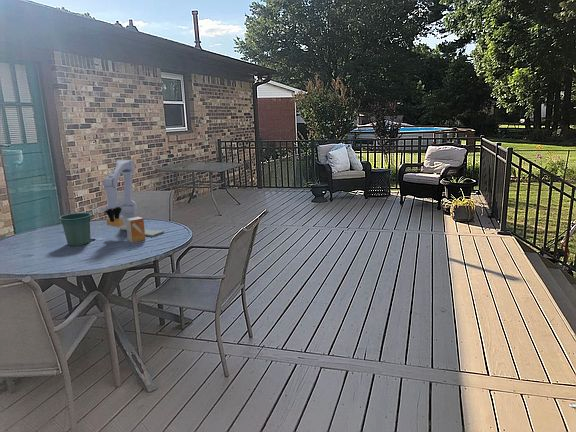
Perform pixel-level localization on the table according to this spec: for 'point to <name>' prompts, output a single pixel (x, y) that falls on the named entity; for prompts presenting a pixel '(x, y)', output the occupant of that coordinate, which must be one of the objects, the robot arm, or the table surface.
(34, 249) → the table surface
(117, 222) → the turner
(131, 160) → the robot arm
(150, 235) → the tool board
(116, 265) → the table surface
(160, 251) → the table surface
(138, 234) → the small box
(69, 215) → the flower pot
